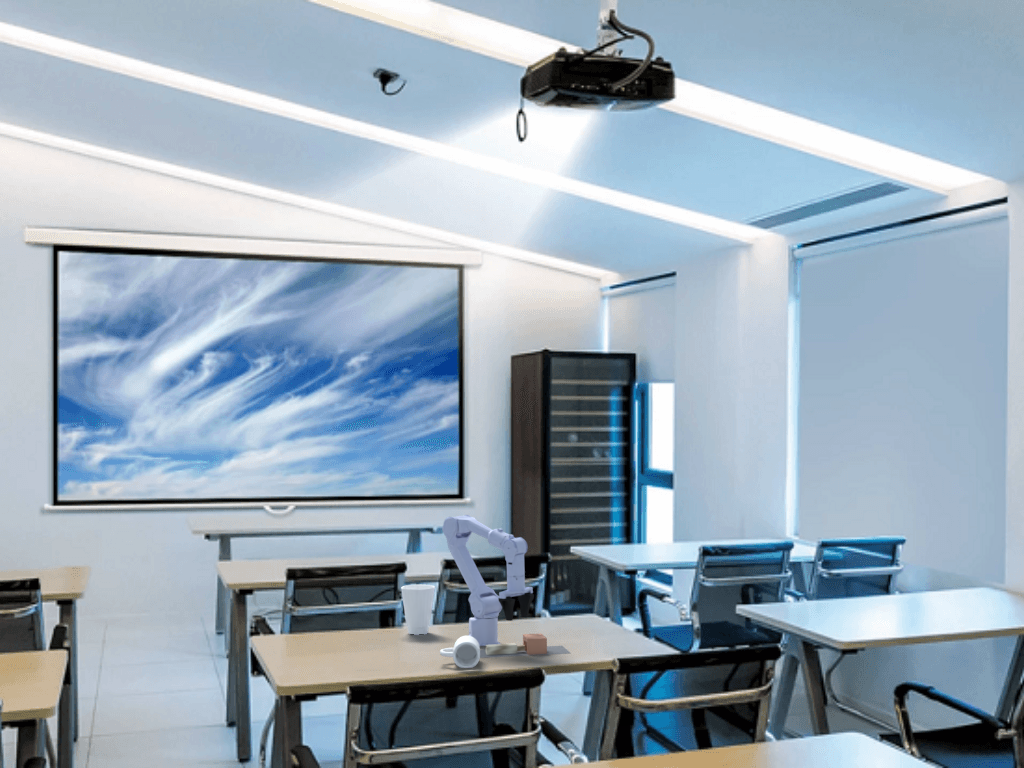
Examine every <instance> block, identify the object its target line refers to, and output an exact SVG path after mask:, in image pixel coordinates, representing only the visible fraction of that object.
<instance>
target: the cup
mask: <svg viewBox="0 0 1024 768" xmlns="http://www.w3.org/2000/svg"><path fill="white" fill-rule="evenodd" d="M435 588H436V586H435V585H432V584H423V583H422V584H419V583H418V584H406V585H403V586H401V587H400V589H401V596H402V602H403V609H404V611H403V612H404V617H405V618H404V619H405V625H406V627H407V634H408V633H409V634H408V635H410V634H414V635H413V636H420V635H419V634H424V635H427V633H428V634H429V627H430V626H431V620H432V613H433V612H432V611H433V605H434V604H433V603H434V596H435Z"/></svg>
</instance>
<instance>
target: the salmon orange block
mask: <svg viewBox="0 0 1024 768" xmlns="http://www.w3.org/2000/svg"><path fill="white" fill-rule="evenodd" d="M547 640H548V638H547V637H546V636H545V635H544V634H543V633H524V634H522V645H525V651H527V654H528V655H530V656H533V655H532V654H547V646H548V641H547Z"/></svg>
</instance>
